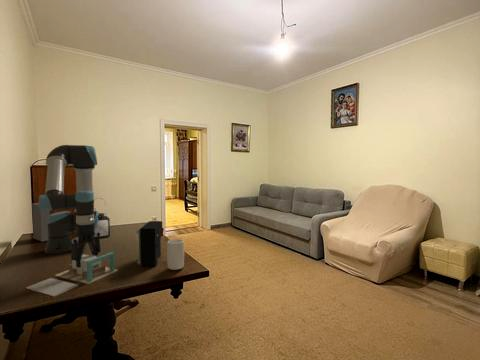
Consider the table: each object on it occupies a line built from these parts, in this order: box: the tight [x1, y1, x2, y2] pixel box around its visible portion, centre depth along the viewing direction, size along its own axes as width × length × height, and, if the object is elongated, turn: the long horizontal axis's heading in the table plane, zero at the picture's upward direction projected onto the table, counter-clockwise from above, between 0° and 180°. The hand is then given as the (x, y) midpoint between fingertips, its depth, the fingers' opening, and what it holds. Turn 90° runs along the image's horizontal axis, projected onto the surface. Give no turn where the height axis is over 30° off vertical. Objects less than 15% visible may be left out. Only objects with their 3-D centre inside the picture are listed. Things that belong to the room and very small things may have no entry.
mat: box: [25, 277, 79, 298], centre depth 110 cm, size 18×10×1 cm, turn 68°
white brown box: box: [71, 253, 102, 275], centre depth 124 cm, size 13×6×7 cm, turn 68°
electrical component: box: [136, 220, 165, 268], centre depth 141 cm, size 18×10×20 cm, turn 5°
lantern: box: [93, 197, 111, 240], centre depth 190 cm, size 11×11×28 cm
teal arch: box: [87, 251, 116, 281], centre depth 121 cm, size 2×13×9 cm, turn 158°
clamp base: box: [54, 263, 119, 285], centre depth 125 cm, size 22×16×4 cm
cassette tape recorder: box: [31, 202, 51, 243], centre depth 180 cm, size 14×6×25 cm, turn 58°
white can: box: [166, 238, 185, 271], centre depth 130 cm, size 8×8×14 cm
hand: (87, 270), depth 125 cm, fingers closed on white brown box, 6 cm apart
